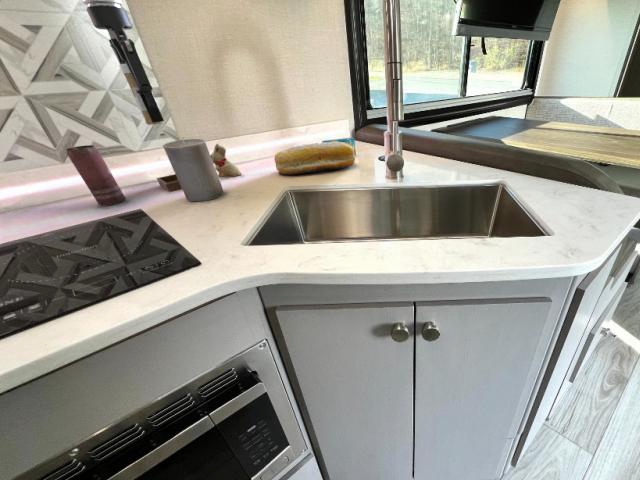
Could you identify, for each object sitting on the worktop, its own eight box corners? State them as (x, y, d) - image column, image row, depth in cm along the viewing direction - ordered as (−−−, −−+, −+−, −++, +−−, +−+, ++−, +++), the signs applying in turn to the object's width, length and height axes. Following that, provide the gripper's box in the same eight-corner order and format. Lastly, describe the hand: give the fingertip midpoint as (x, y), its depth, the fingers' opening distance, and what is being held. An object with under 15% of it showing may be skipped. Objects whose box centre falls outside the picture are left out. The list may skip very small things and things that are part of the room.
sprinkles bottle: (150, 123, 89) (123, 64, 81) (167, 122, 90) (142, 63, 82) (144, 125, 85) (115, 63, 77) (162, 124, 86) (135, 63, 78)
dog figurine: (230, 171, 108) (219, 139, 102) (243, 174, 105) (233, 141, 99) (215, 175, 105) (202, 142, 99) (228, 179, 101) (216, 145, 95)
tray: (169, 192, 92) (165, 184, 91) (160, 185, 98) (156, 178, 96) (208, 182, 99) (205, 175, 97) (197, 177, 104) (194, 169, 102)
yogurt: (325, 159, 118) (322, 141, 114) (324, 158, 119) (321, 140, 115) (356, 155, 121) (354, 137, 117) (355, 154, 122) (353, 137, 118)
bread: (360, 169, 106) (357, 143, 101) (279, 180, 99) (272, 152, 94) (350, 159, 116) (347, 136, 111) (276, 169, 109) (269, 144, 104)
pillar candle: (217, 187, 94) (196, 132, 85) (229, 195, 88) (207, 136, 79) (182, 196, 89) (155, 137, 80) (191, 204, 83) (164, 142, 74)
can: (103, 200, 88) (70, 146, 80) (129, 197, 90) (99, 143, 81) (94, 207, 84) (57, 151, 75) (121, 204, 85) (88, 148, 77)
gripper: (132, 3, 70) (180, 121, 84) (117, 11, 80) (162, 116, 94) (90, 0, 66) (148, 125, 80) (79, 10, 76) (133, 119, 90)
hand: (155, 120), depth 87 cm, fingers closed on sprinkles bottle, 4 cm apart
